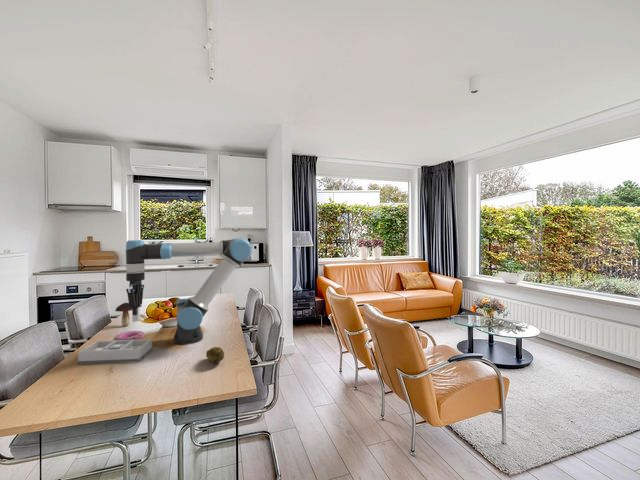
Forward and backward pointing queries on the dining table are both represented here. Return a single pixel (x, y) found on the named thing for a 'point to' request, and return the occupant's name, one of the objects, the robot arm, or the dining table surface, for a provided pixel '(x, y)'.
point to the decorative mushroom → (124, 313)
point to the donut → (130, 335)
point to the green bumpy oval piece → (215, 354)
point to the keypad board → (115, 351)
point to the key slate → (116, 346)
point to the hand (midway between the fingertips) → (136, 321)
